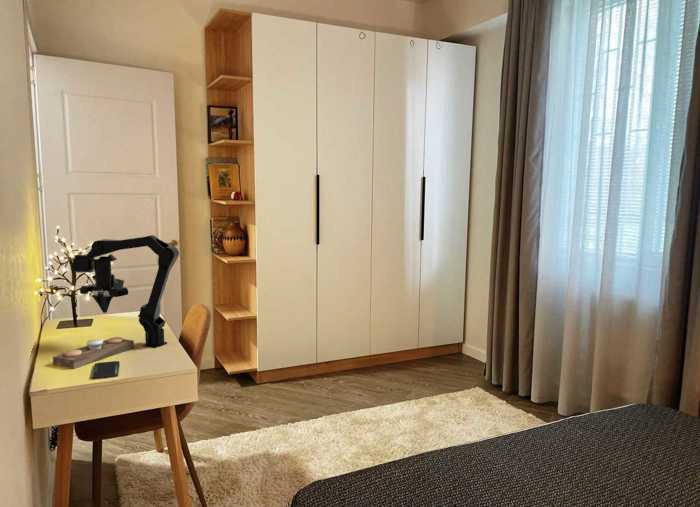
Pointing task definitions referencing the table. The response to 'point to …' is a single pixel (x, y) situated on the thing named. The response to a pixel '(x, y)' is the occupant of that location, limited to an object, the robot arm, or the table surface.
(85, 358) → the knob mount
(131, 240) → the robot arm
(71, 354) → the knob
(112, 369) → the phone
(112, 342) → the knob
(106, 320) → the table surface
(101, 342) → the middle knob
